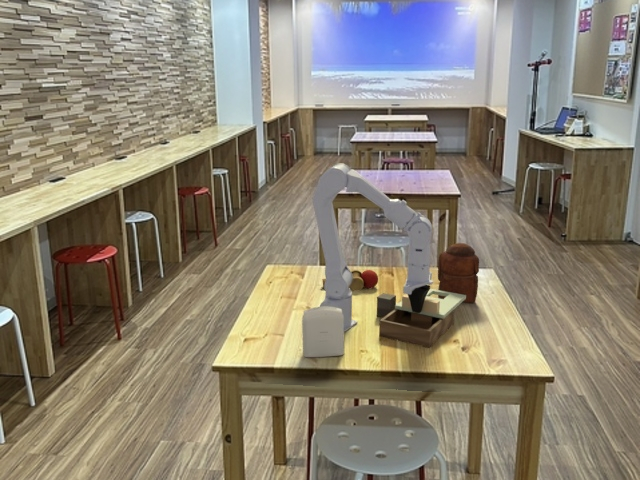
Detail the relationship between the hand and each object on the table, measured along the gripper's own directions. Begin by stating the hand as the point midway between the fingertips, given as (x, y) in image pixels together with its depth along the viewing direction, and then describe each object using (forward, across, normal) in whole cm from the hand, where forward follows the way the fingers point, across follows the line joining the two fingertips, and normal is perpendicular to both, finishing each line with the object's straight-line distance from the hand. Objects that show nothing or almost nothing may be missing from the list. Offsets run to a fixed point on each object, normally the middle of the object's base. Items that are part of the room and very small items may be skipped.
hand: (416, 311), depth 164 cm
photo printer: (+6, -25, +14) cm, 29 cm away
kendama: (+6, +22, +32) cm, 40 cm away
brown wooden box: (+6, +1, 0) cm, 6 cm away
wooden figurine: (+6, +29, -1) cm, 30 cm away
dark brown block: (+6, +6, +12) cm, 14 cm away
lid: (+1, +10, 0) cm, 11 cm away
